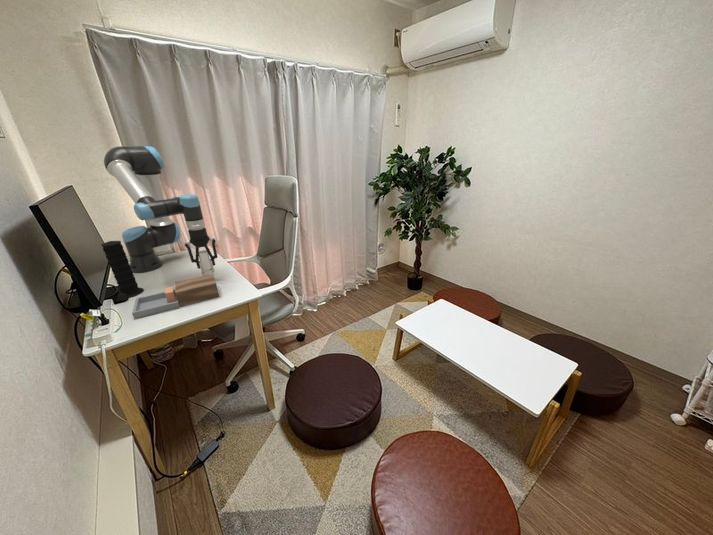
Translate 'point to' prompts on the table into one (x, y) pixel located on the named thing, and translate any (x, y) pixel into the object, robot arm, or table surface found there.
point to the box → (152, 305)
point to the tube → (205, 262)
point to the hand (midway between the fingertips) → (208, 272)
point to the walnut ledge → (196, 290)
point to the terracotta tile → (170, 294)
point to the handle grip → (121, 269)
